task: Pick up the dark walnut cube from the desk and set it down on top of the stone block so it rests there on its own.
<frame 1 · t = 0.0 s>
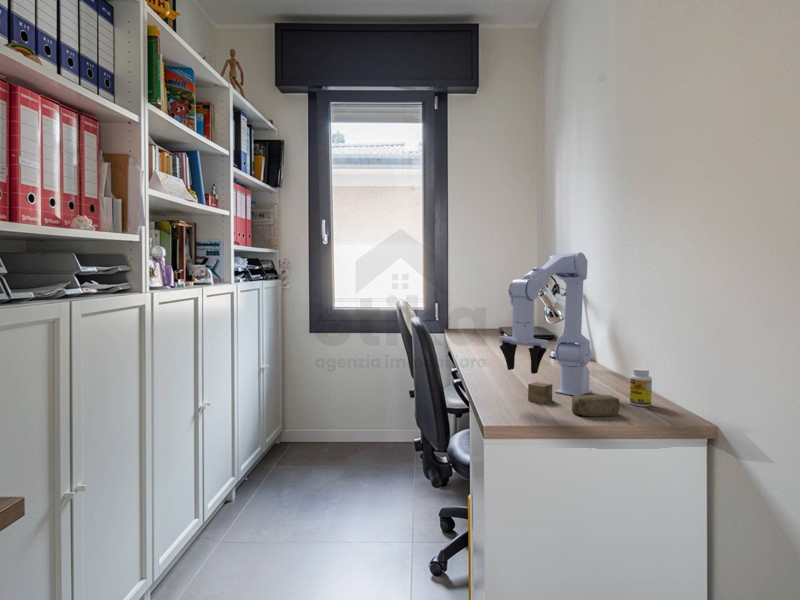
hand: (522, 371, 141), 10 cm above the table, tool pointing down, fingers open, 7 cm apart
supplement bottle: (640, 405, 145), on the table
walnut cube: (540, 401, 150), on the table
stone block: (594, 415, 135), on the table
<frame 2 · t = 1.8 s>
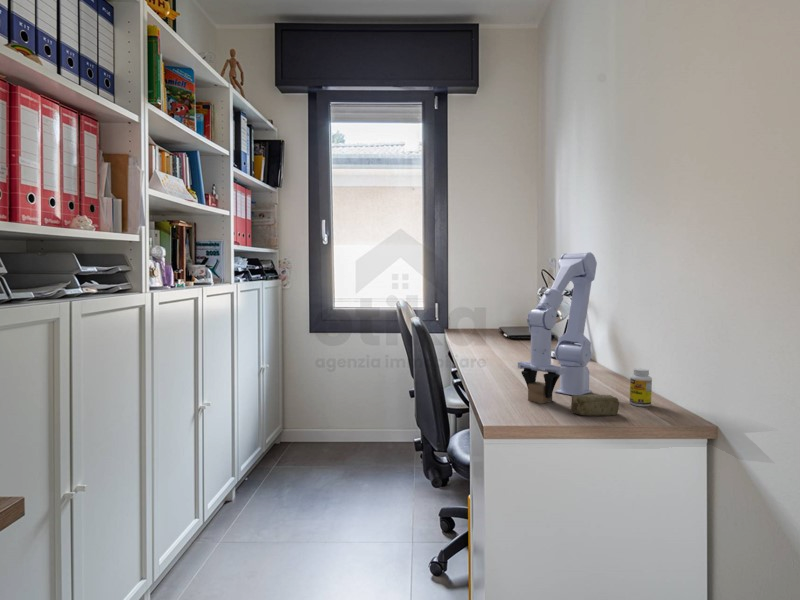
hand: (540, 395, 150), 1 cm above the table, tool pointing down, fingers closed on walnut cube, 5 cm apart
walnut cube: (540, 400, 150), on the table, touching gripper
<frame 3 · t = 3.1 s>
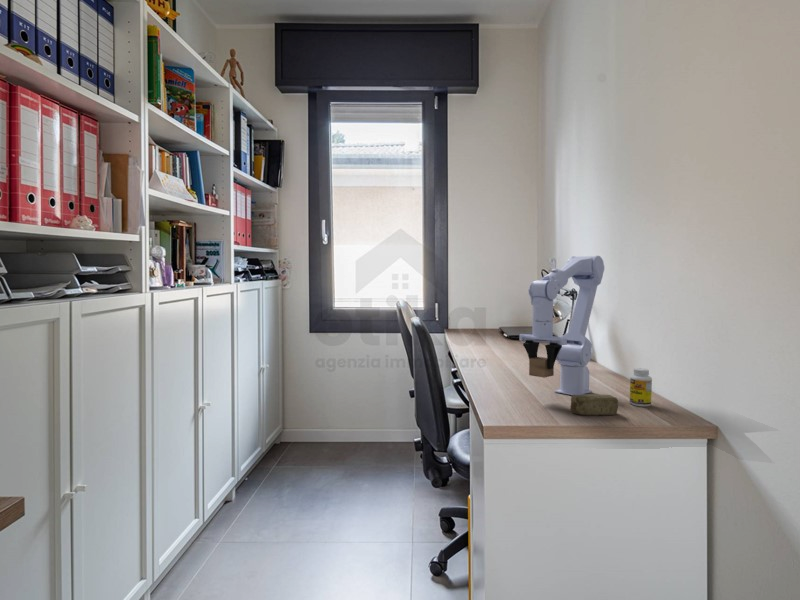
hand: (541, 367, 149), 10 cm above the table, tool pointing down, fingers closed on walnut cube, 5 cm apart
walnut cube: (541, 375, 149), point 8 cm above the table, touching gripper
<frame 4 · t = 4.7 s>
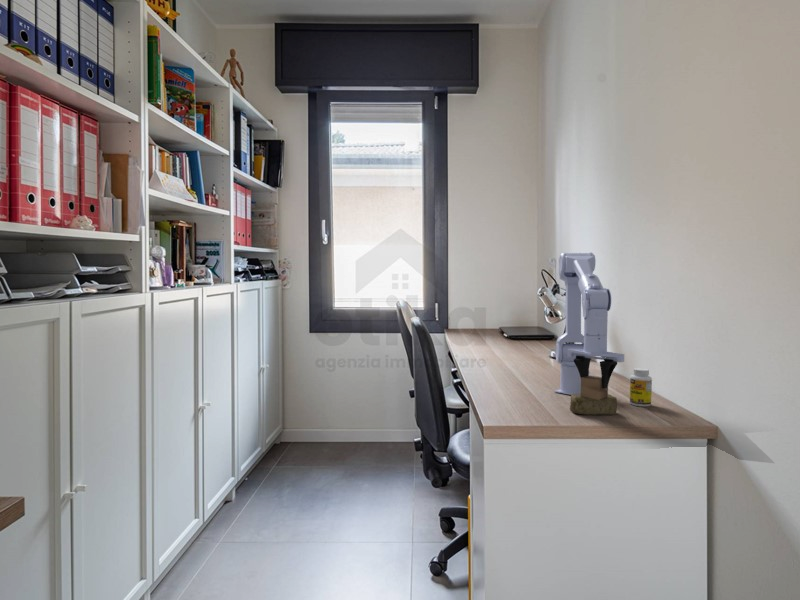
hand: (594, 386, 134), 7 cm above the table, tool pointing down, fingers closed on walnut cube, 5 cm apart
walnut cube: (594, 396, 134), point 5 cm above the table, touching gripper, stone block
stone block: (592, 413, 136), on the table, touching walnut cube
everything else where it was.
when the fingers open (7 cm above the table, at t = 5.1 s): walnut cube stays where it is, resting on stone block.
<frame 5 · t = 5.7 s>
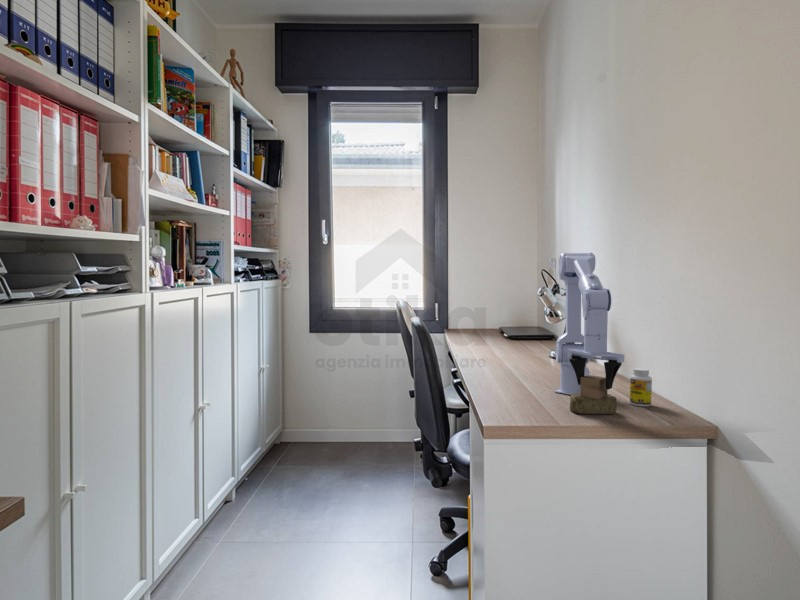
hand: (594, 386, 134), 7 cm above the table, tool pointing down, fingers open, 7 cm apart
walnut cube: (593, 396, 135), point 5 cm above the table, touching stone block
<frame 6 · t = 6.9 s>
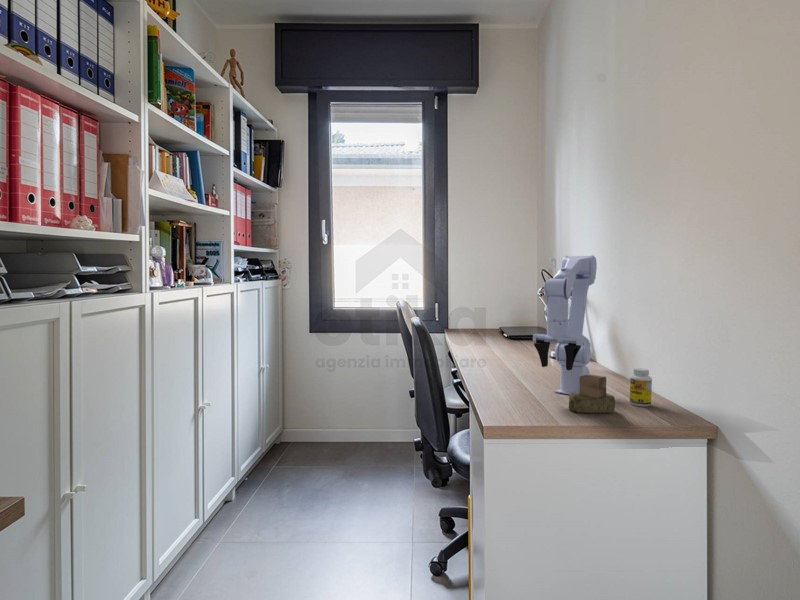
hand: (556, 368, 145), 10 cm above the table, tool pointing down, fingers open, 7 cm apart
walnut cube: (592, 395, 136), point 5 cm above the table, touching stone block
stone block: (590, 412, 138), on the table, touching walnut cube
everything else where it was.
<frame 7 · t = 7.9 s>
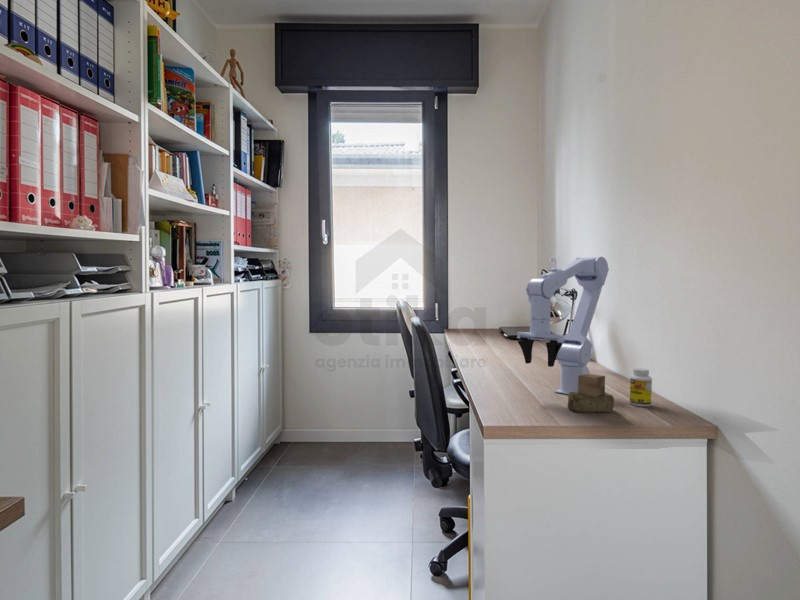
hand: (539, 364, 151), 10 cm above the table, tool pointing down, fingers open, 7 cm apart
walnut cube: (591, 394, 138), point 5 cm above the table, touching stone block
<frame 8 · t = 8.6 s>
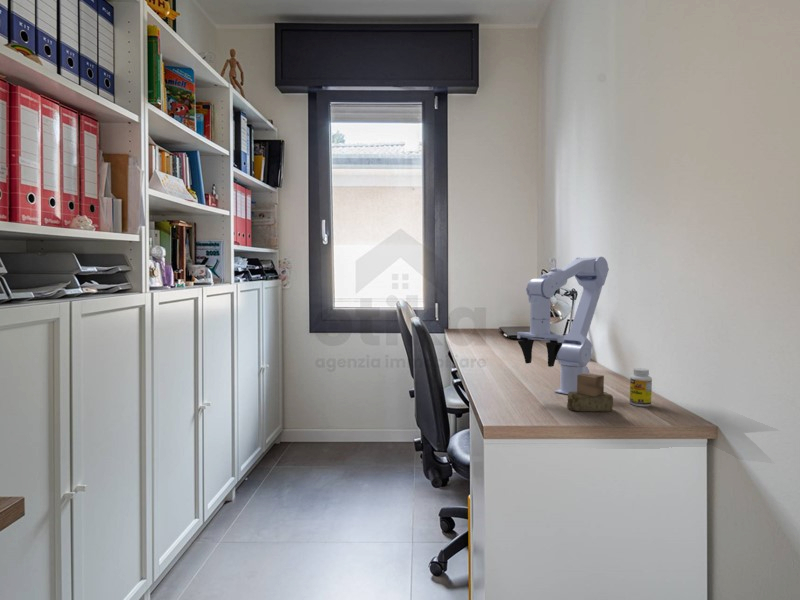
hand: (539, 364, 151), 10 cm above the table, tool pointing down, fingers open, 7 cm apart
at the end: walnut cube inside the target area on the stone block (1.3 cm from its centre), point 5.2 cm above the stone block's base; walnut cube touching stone block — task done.
